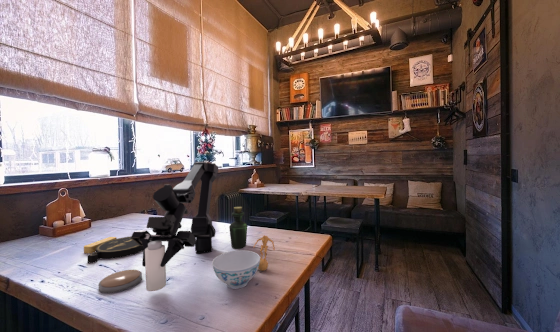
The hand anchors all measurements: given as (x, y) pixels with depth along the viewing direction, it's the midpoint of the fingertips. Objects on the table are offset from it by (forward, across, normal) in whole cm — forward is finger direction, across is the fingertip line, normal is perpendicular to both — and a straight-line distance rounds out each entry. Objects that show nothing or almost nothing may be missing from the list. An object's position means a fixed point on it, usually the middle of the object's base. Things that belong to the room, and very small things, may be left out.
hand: (152, 266), depth 66 cm
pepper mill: (+4, 0, +6) cm, 7 cm away
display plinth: (+2, -16, +11) cm, 19 cm away
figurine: (-7, +29, +20) cm, 36 cm away
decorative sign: (-18, -40, +32) cm, 54 cm away
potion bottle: (-22, +14, +35) cm, 44 cm away
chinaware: (0, +22, +13) cm, 26 cm away
